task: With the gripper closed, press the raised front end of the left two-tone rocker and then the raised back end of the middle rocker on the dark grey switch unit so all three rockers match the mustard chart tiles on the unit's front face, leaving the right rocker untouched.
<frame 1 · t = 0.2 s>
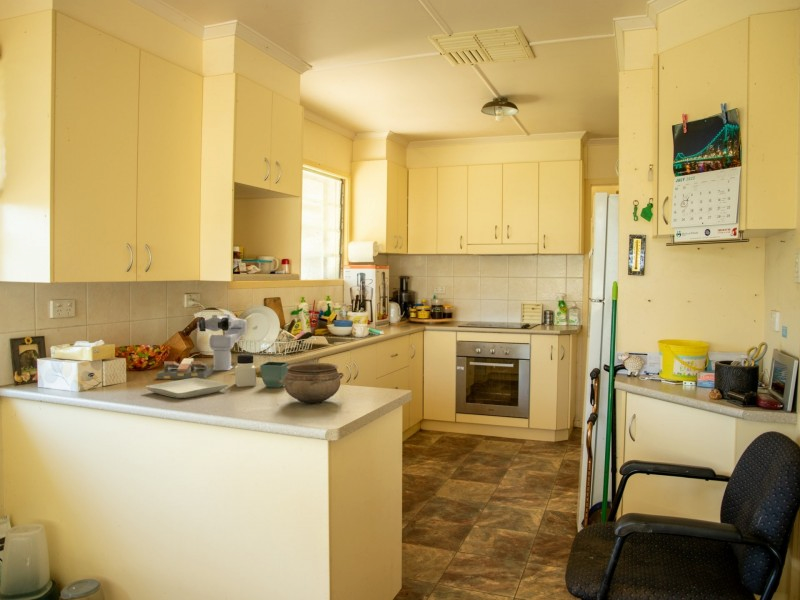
hand: (209, 325, 260), 22 cm above the countertop, tool horizontal, fingers open, 7 cm apart
medicine bottle: (245, 385, 243), on the countertop
switch unit: (185, 375, 263), on the countertop
right rocker: (199, 364, 263), point 5 cm above the countertop, hinge at -18.0°
cooking pot: (312, 403, 212), on the countertop
left rocker: (172, 364, 263), point 5 cm above the countertop, hinge at -18.0°
middle rocker: (185, 364, 263), point 5 cm above the countertop, hinge at 18.0°
salad plate: (187, 394, 228), on the countertop
flower pot: (275, 387, 240), on the countertop
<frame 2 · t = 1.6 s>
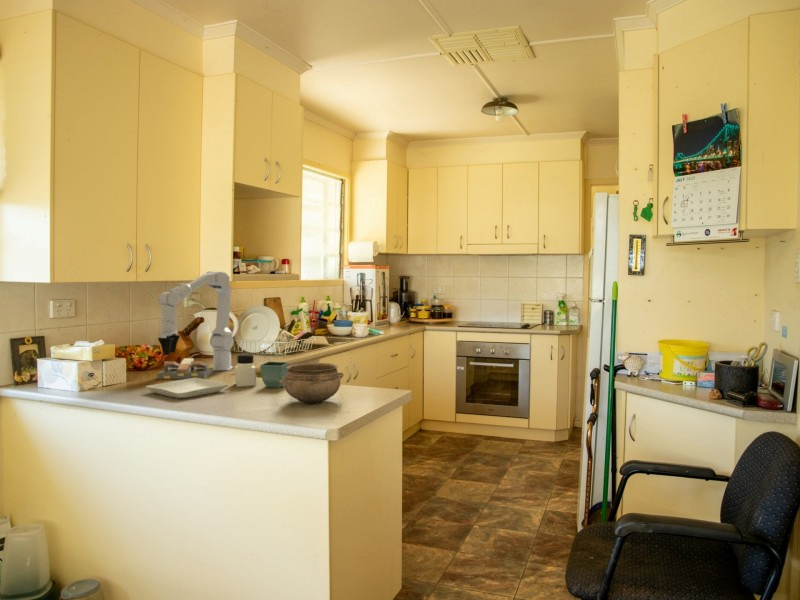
hand: (169, 353, 259), 10 cm above the countertop, tool pointing down, fingers open, 7 cm apart
nothing on the countertop moved.
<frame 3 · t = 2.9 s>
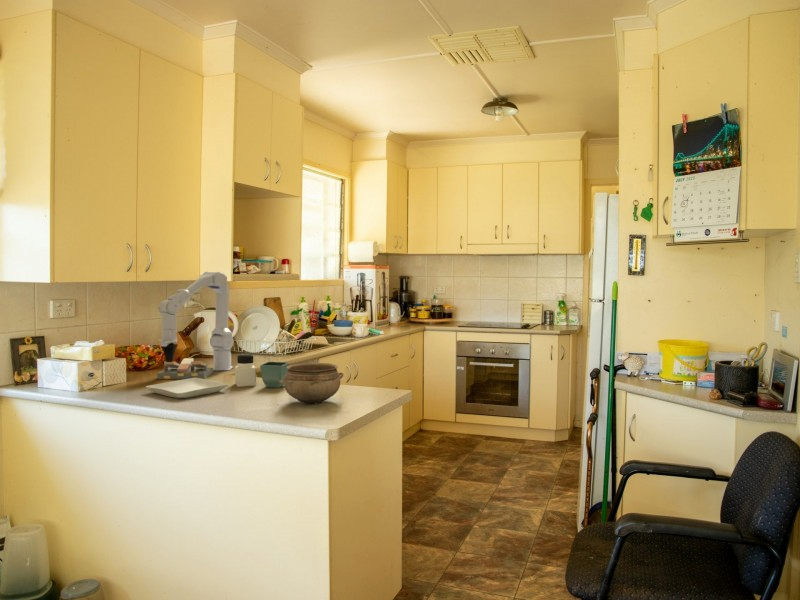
hand: (169, 361, 259), 7 cm above the countertop, tool pointing down, fingers closed, pressing on left rocker
left rocker: (172, 364, 263), point 5 cm above the countertop, hinge at -18.0°, touching gripper
everything else where it was.
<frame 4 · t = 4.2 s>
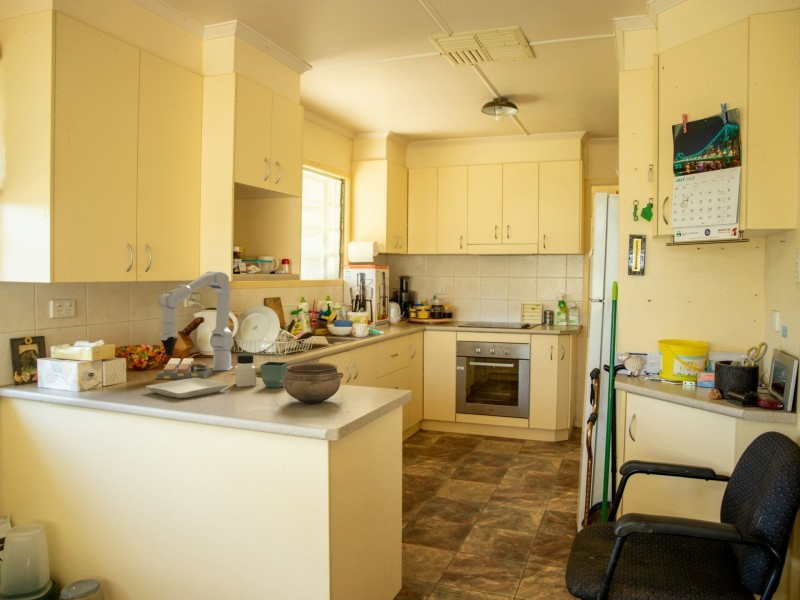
hand: (169, 355, 259), 9 cm above the countertop, tool pointing down, fingers closed
left rocker: (172, 364, 262), point 5 cm above the countertop, hinge at 18.4°
everything else where it was.
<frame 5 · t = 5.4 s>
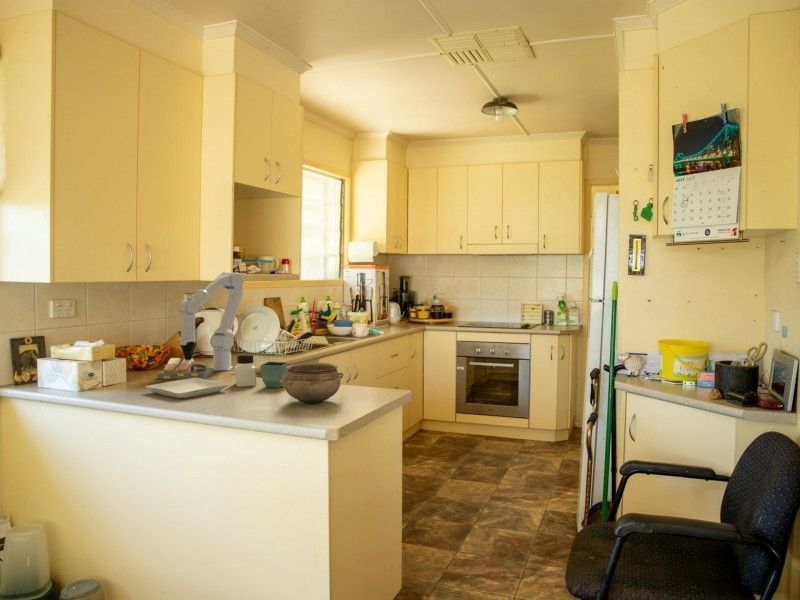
hand: (188, 360, 267), 6 cm above the countertop, tool pointing down, fingers closed, pressing on middle rocker
left rocker: (172, 365, 262), point 5 cm above the countertop, hinge at 20.5°, touching switch unit
middle rocker: (185, 364, 263), point 5 cm above the countertop, hinge at 16.3°, touching gripper
everything else where it was.
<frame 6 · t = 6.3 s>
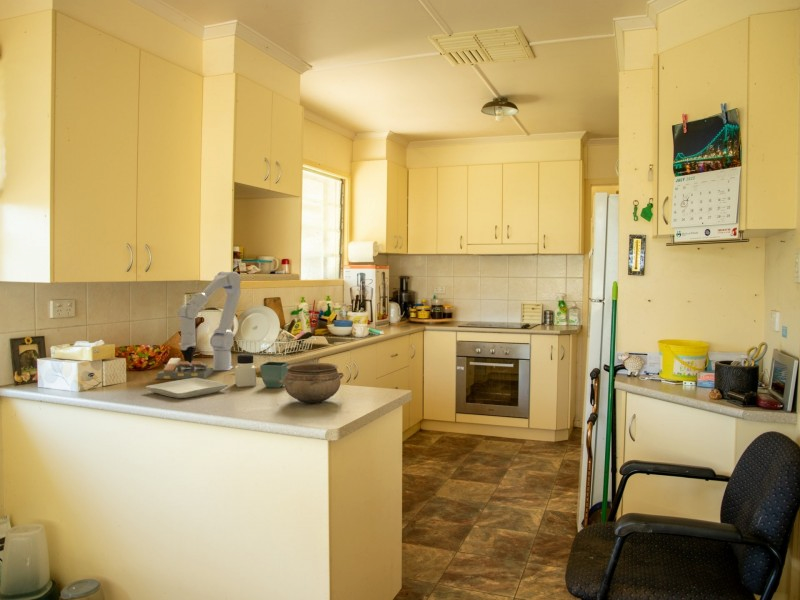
hand: (188, 364, 267), 4 cm above the countertop, tool pointing down, fingers closed, pressing on middle rocker
middle rocker: (186, 364, 263), point 5 cm above the countertop, hinge at -18.1°, touching gripper
everything else where it was.
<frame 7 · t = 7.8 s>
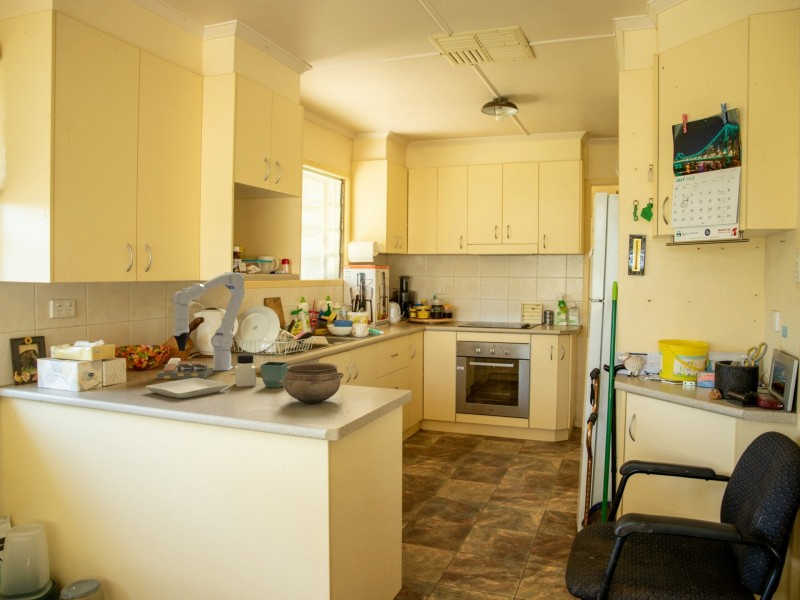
hand: (182, 351, 267), 10 cm above the countertop, tool pointing down, fingers closed
middle rocker: (186, 364, 263), point 5 cm above the countertop, hinge at -18.6°
everything else where it was.
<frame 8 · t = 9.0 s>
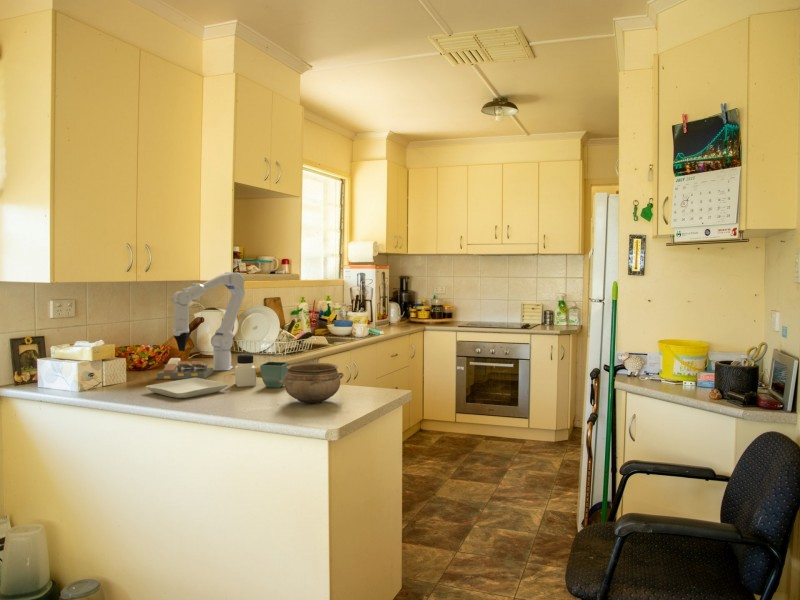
hand: (182, 351, 267), 10 cm above the countertop, tool pointing down, fingers closed
nothing on the countertop moved.
at the end: left rocker at +20° (first picture: -18°); middle rocker at -19° (first picture: +18°); right rocker at -18° (first picture: -18°) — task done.
